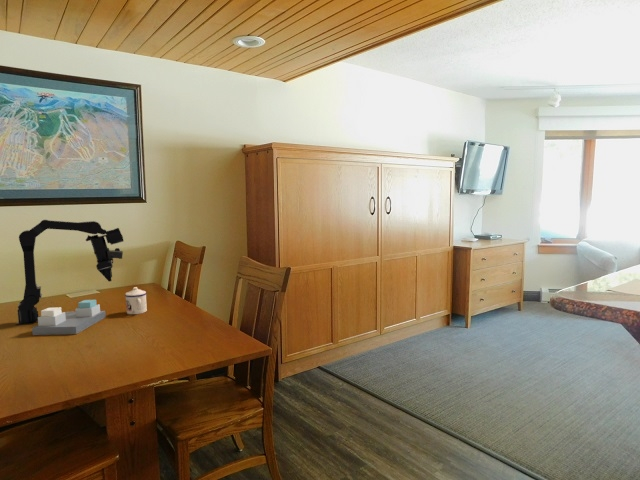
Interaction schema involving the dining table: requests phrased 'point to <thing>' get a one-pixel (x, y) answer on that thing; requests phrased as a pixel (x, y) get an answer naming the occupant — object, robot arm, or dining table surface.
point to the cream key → (51, 312)
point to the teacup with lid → (136, 301)
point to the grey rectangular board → (69, 321)
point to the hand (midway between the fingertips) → (110, 279)
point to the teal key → (87, 304)
